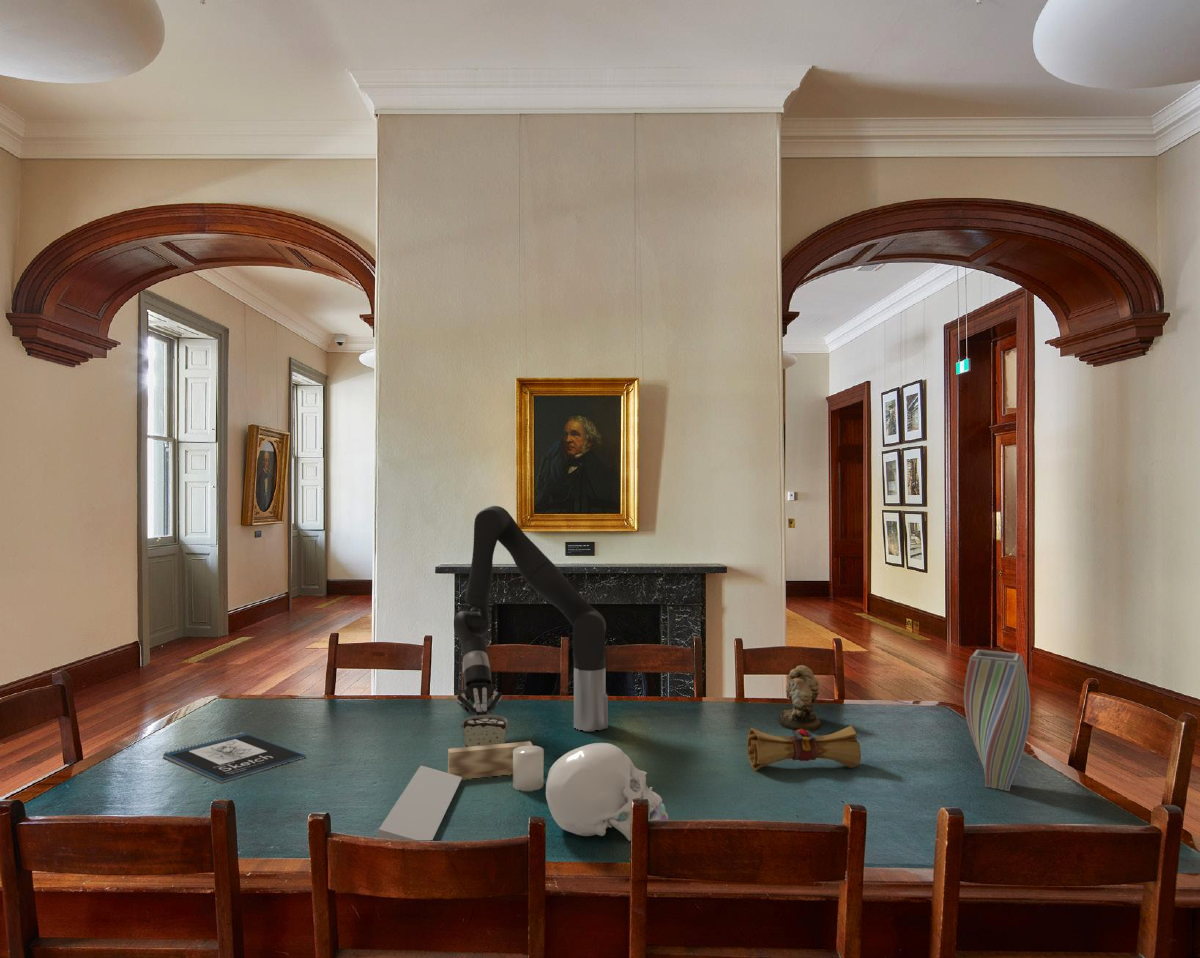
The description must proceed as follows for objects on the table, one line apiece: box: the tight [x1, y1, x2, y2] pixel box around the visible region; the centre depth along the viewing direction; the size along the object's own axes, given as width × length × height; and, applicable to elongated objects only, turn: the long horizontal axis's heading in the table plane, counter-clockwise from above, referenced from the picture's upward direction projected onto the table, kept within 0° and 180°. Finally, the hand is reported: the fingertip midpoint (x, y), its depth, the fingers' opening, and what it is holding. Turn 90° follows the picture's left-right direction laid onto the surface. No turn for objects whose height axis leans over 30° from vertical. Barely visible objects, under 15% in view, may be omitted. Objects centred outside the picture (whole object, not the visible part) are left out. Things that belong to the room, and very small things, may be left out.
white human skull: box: [545, 742, 670, 842], centre depth 149 cm, size 16×20×22 cm
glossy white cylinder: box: [512, 745, 545, 792], centre depth 173 cm, size 7×7×8 cm
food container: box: [460, 714, 510, 747], centre depth 192 cm, size 12×6×10 cm, turn 86°
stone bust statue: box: [778, 664, 821, 732], centre depth 223 cm, size 18×12×17 cm, turn 175°
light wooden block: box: [447, 740, 534, 781], centre depth 180 cm, size 20×5×6 cm, turn 107°
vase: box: [963, 649, 1032, 792], centre depth 174 cm, size 14×14×30 cm
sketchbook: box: [162, 731, 307, 784], centre depth 191 cm, size 22×30×2 cm
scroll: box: [746, 725, 862, 772], centre depth 185 cm, size 27×10×10 cm, turn 95°
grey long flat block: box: [376, 765, 462, 841], centre depth 156 cm, size 34×5×10 cm
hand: (482, 726), depth 201 cm, fingers closed
